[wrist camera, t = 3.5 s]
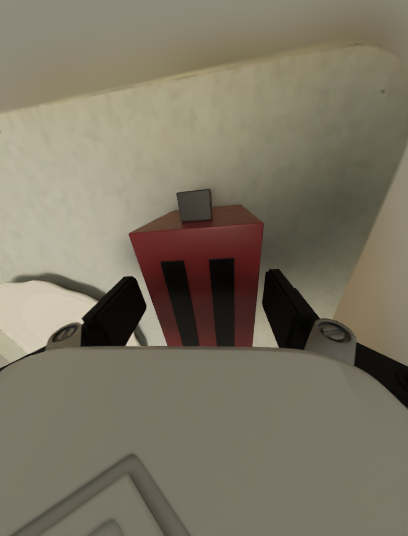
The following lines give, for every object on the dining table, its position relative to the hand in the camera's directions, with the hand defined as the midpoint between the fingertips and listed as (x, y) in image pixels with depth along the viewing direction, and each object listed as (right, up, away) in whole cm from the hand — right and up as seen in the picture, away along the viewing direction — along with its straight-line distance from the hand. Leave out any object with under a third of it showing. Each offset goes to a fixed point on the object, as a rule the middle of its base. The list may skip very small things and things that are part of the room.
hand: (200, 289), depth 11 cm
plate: (-19, -8, +12) cm, 24 cm away
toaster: (+1, +2, +4) cm, 5 cm away
